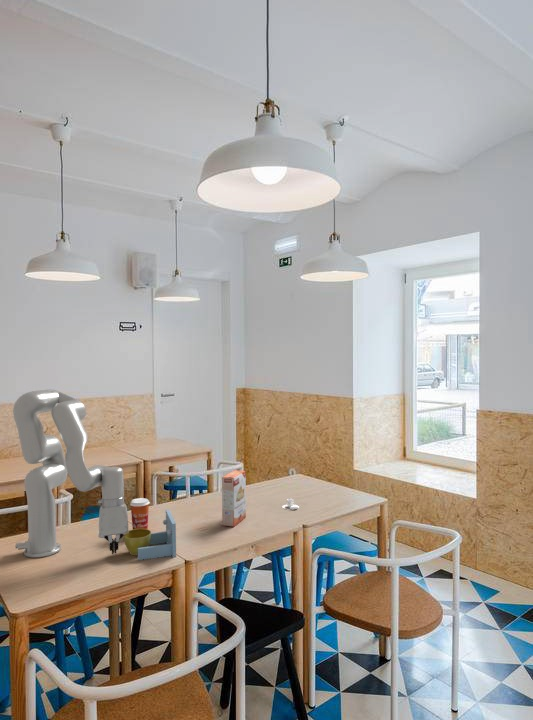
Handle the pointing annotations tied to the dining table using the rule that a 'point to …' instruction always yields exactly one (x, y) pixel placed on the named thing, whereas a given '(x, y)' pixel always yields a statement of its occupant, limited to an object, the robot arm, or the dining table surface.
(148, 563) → the dining table surface
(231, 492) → the cracker box
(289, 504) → the white lobed knob
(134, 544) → the flower pot
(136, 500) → the paper cup
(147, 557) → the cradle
